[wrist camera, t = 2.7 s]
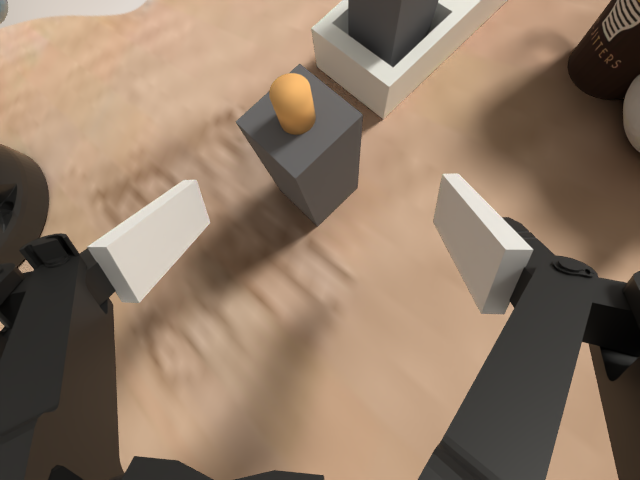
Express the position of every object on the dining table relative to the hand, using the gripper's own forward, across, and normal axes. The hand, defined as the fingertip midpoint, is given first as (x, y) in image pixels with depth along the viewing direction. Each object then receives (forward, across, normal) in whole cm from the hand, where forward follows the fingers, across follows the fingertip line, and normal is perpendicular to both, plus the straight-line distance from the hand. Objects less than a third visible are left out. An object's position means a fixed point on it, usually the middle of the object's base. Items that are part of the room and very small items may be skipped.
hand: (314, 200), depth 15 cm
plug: (+10, -1, -3) cm, 10 cm away
